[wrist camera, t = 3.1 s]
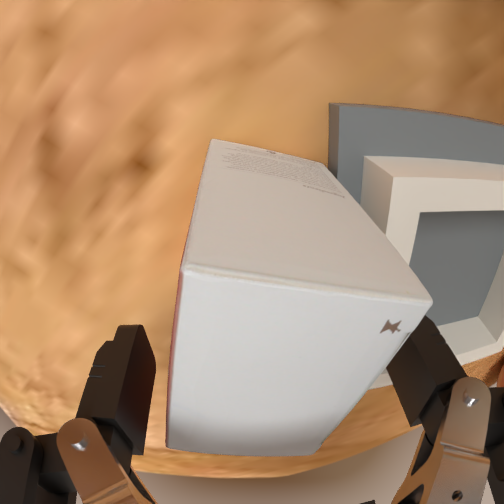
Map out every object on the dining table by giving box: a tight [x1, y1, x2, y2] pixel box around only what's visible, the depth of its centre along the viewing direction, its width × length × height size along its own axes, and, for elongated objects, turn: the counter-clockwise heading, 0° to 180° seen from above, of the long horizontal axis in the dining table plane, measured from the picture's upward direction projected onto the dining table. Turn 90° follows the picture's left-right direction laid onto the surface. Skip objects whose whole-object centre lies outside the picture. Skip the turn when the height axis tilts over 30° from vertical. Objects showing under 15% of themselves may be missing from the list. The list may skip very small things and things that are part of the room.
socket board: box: [328, 103, 504, 390], centre depth 17 cm, size 18×16×4 cm
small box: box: [165, 139, 433, 456], centre depth 12 cm, size 8×6×10 cm
